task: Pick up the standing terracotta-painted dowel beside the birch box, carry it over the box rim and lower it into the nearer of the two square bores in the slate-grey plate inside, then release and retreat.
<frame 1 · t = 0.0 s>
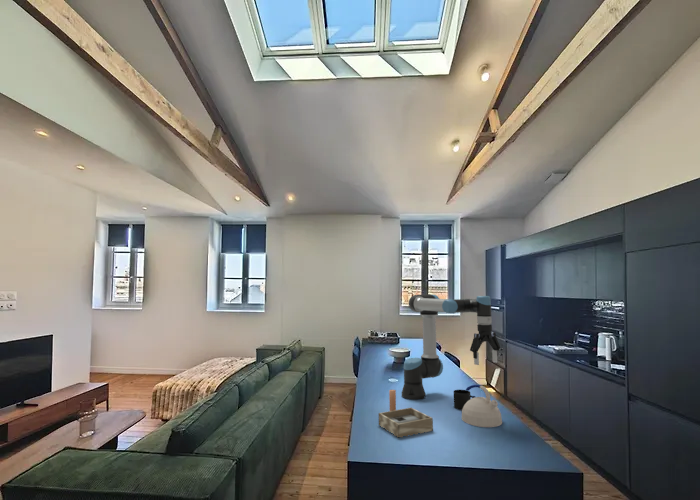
hand: (485, 363, 208), 28 cm above the table, fingers open, 13 cm apart
kettle: (481, 421, 199), on the table
box: (405, 428, 189), on the table
peg: (392, 417, 204), on the table
mug: (464, 408, 220), on the table
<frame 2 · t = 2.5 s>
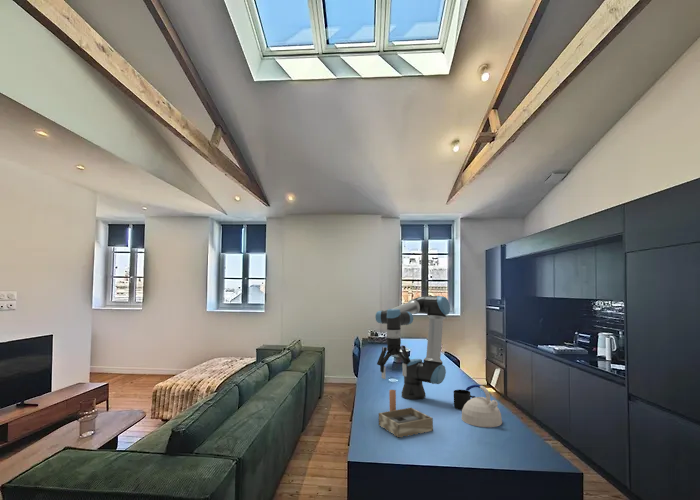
hand: (394, 377, 206), 21 cm above the table, fingers open, 13 cm apart
nothing on the table moved.
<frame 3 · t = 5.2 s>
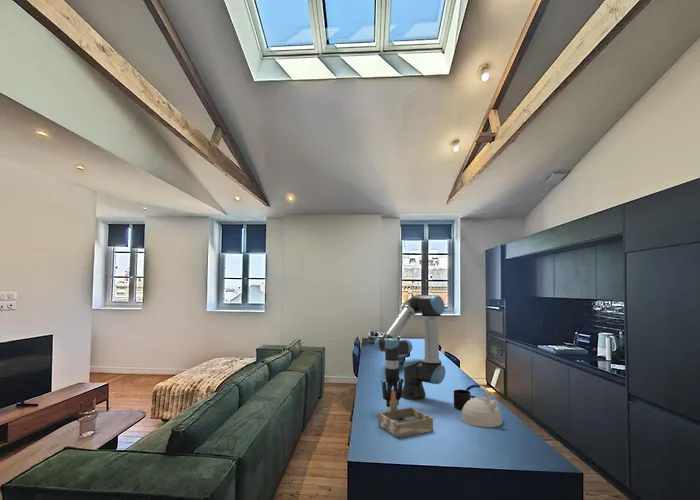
hand: (392, 412, 205), 3 cm above the table, fingers closed on peg, 3 cm apart
peg: (392, 417, 204), on the table, touching gripper
everything else where it was.
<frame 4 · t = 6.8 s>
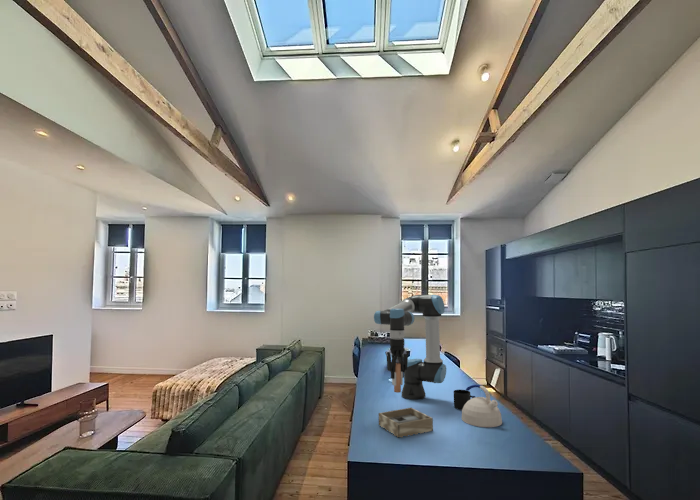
hand: (397, 384, 196), 20 cm above the table, fingers closed on peg, 3 cm apart
peg: (397, 391, 196), point 16 cm above the table, touching gripper
everything else where it was.
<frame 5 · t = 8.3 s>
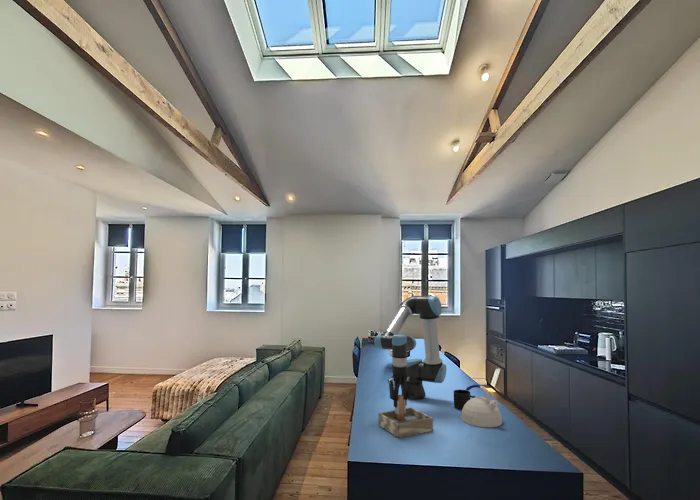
hand: (400, 412, 193), 6 cm above the table, fingers closed on peg, 3 cm apart
peg: (400, 424, 192), point 1 cm above the table, touching gripper
everything else where it was.
when the fingers open (5 cm above the table, at t = 8.7 s): peg stays where it is, resting in box.
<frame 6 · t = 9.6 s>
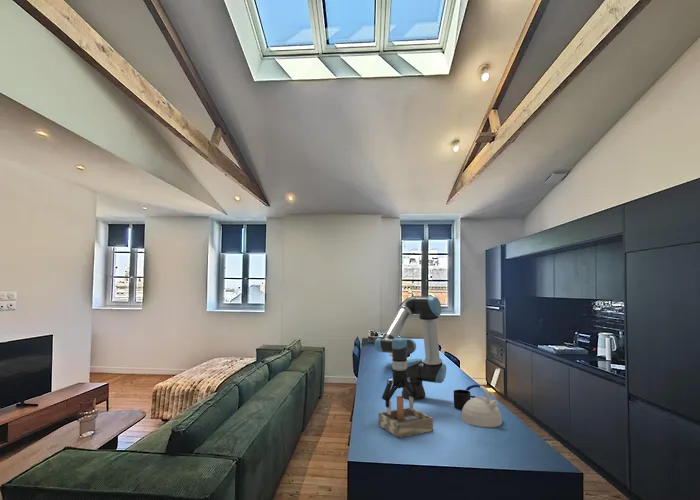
hand: (400, 411, 193), 7 cm above the table, fingers open, 13 cm apart
peg: (400, 425, 192), resting in box
everything else where it was.
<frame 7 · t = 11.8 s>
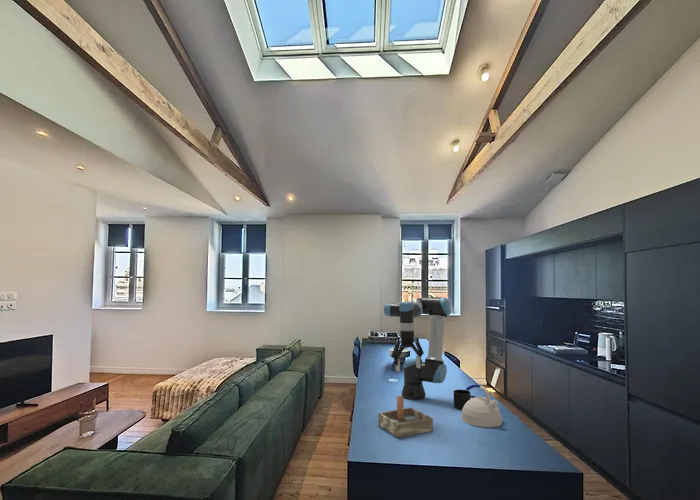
hand: (408, 369, 208), 25 cm above the table, fingers open, 13 cm apart
nothing on the table moved.
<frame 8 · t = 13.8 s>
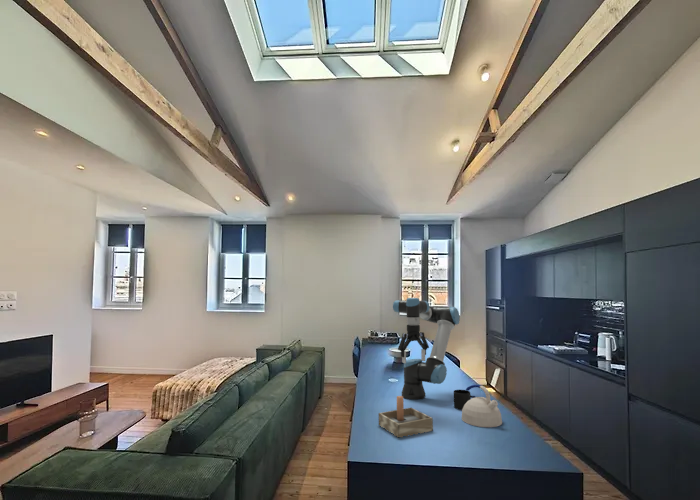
hand: (413, 361, 219), 27 cm above the table, fingers open, 13 cm apart
nothing on the table moved.
at the end: peg 0.2 cm from the target spot on the box, point 0.0 cm above the box's base; peg tilted 0°; the gripper is holding nothing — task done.
